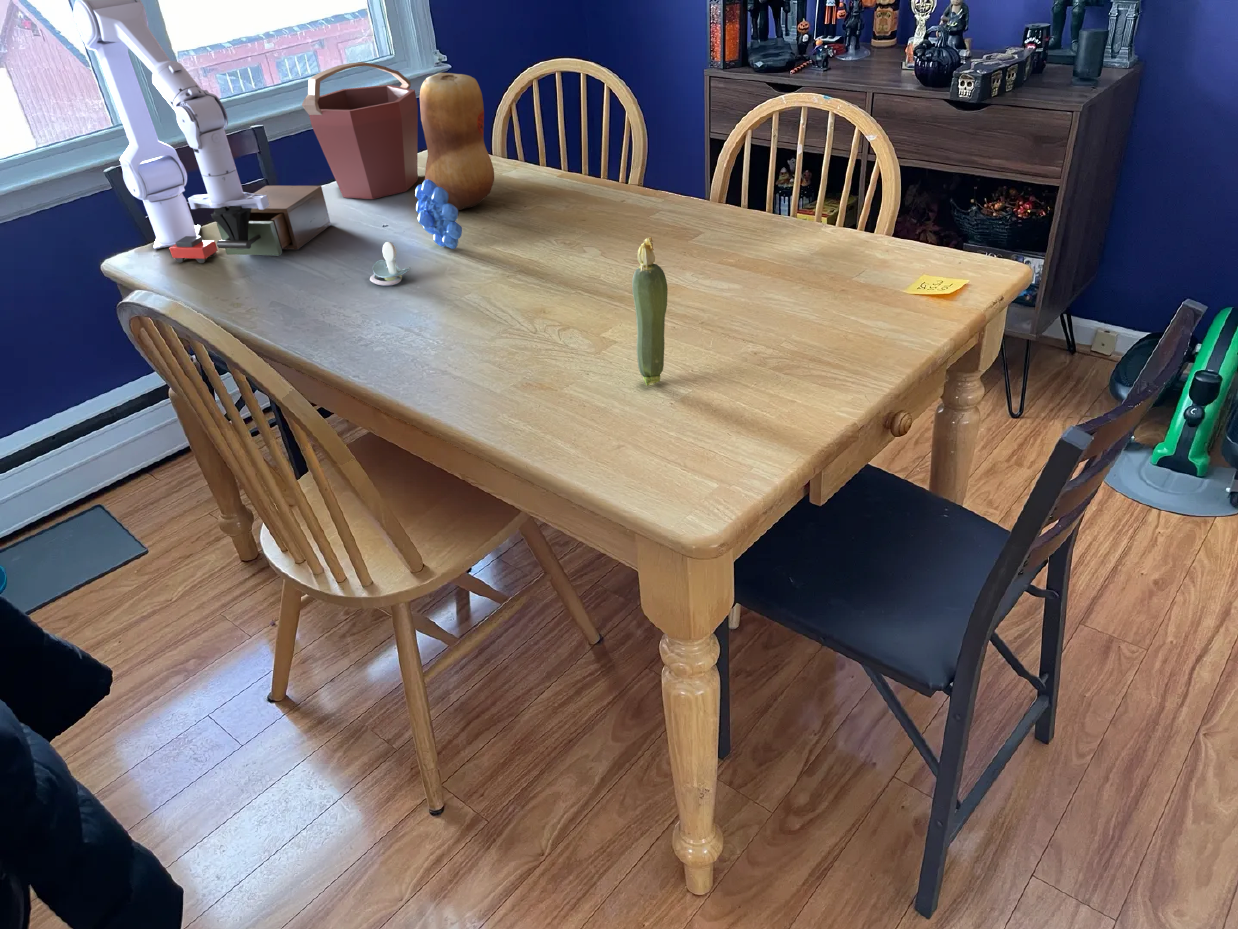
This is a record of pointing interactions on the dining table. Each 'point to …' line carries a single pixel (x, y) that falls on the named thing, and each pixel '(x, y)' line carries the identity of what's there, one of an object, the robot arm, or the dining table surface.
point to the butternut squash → (456, 138)
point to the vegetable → (649, 313)
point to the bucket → (367, 134)
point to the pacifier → (390, 273)
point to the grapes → (437, 214)
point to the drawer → (259, 236)
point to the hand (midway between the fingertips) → (242, 247)
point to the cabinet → (298, 211)
